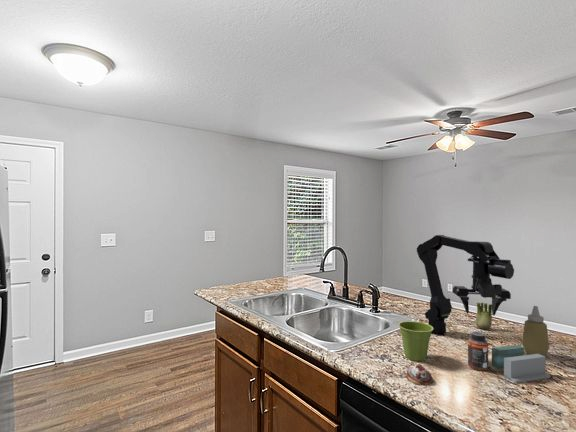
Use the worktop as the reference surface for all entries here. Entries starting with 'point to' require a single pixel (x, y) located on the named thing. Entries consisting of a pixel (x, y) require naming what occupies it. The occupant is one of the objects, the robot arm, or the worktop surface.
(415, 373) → the pastry
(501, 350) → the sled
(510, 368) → the backstop wall
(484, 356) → the supplement bottle
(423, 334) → the plant pot
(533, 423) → the worktop surface
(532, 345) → the squeeze bottle
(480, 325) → the fennel bulb
